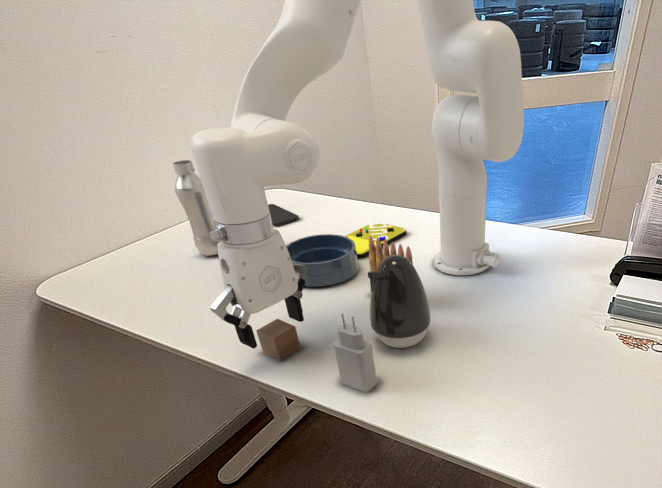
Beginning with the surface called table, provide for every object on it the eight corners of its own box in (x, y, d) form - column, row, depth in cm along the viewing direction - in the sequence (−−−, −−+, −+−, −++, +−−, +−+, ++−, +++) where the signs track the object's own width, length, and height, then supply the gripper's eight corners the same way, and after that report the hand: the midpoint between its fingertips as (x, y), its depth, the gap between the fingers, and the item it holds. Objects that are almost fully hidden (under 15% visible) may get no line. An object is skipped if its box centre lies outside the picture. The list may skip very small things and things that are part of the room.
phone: (275, 224, 125) (248, 210, 133) (276, 227, 125) (249, 213, 134) (300, 216, 129) (272, 203, 137) (300, 219, 129) (273, 206, 138)
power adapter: (351, 371, 77) (339, 305, 69) (379, 381, 74) (369, 314, 67) (339, 382, 75) (325, 315, 67) (367, 393, 72) (355, 325, 65)
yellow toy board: (362, 260, 108) (361, 253, 107) (326, 250, 113) (325, 244, 112) (409, 233, 120) (408, 227, 119) (374, 225, 124) (374, 219, 123)
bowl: (372, 267, 105) (369, 243, 102) (322, 296, 96) (317, 270, 93) (324, 252, 112) (320, 229, 109) (273, 277, 103) (266, 253, 100)
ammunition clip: (371, 295, 96) (363, 236, 88) (377, 291, 97) (370, 233, 89) (413, 309, 91) (409, 248, 83) (419, 305, 92) (415, 245, 84)
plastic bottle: (229, 255, 112) (199, 164, 99) (199, 261, 111) (164, 168, 98) (228, 245, 117) (199, 156, 104) (198, 250, 115) (165, 160, 102)
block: (301, 348, 82) (295, 326, 79) (280, 361, 79) (273, 338, 76) (283, 340, 84) (277, 318, 81) (263, 352, 81) (255, 330, 79)
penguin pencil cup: (360, 340, 83) (346, 257, 73) (404, 317, 89) (397, 237, 79) (398, 364, 78) (389, 278, 68) (443, 338, 83) (441, 254, 73)
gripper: (207, 255, 61) (244, 364, 72) (309, 215, 71) (328, 316, 82) (174, 242, 64) (214, 348, 75) (276, 206, 75) (298, 304, 86)
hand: (274, 331), depth 79 cm, fingers open, 9 cm apart
